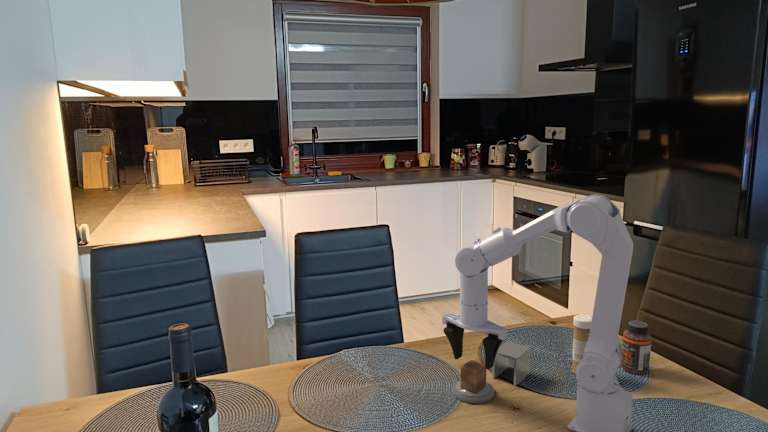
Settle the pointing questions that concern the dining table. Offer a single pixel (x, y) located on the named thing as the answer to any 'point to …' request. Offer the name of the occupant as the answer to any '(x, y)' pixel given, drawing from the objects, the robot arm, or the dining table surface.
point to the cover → (517, 354)
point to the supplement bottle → (636, 348)
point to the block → (473, 376)
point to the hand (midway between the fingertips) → (473, 362)
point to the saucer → (469, 397)
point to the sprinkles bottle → (580, 338)
